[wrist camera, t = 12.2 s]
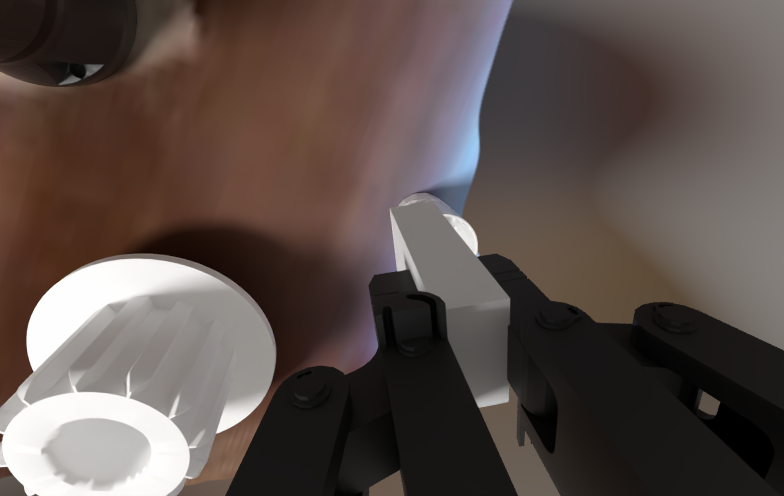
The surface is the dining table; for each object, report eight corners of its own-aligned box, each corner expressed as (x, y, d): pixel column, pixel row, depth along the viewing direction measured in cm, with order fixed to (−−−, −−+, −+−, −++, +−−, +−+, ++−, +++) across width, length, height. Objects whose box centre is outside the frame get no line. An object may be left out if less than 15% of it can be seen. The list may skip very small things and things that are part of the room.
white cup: (415, 174, 46) (435, 198, 37) (463, 210, 49) (493, 241, 40) (375, 226, 48) (386, 261, 39) (424, 258, 51) (444, 298, 42)
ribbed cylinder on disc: (99, 408, 53) (-12, 567, 36) (36, 236, 43) (-158, 343, 26) (288, 393, 57) (270, 531, 39) (271, 230, 47) (237, 320, 29)
